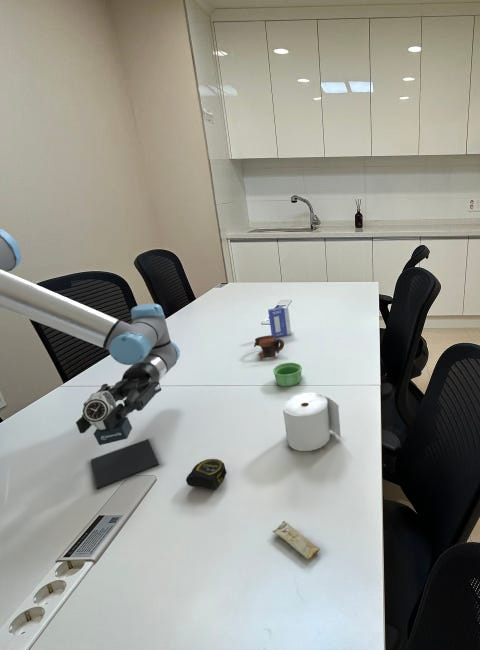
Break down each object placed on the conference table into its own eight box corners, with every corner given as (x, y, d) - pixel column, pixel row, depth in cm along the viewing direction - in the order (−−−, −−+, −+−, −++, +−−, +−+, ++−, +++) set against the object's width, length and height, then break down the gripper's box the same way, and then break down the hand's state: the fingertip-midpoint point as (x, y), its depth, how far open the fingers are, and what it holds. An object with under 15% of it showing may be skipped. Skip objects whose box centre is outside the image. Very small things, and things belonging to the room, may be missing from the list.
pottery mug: (251, 361, 140) (247, 339, 141) (264, 361, 149) (260, 340, 150) (281, 354, 138) (277, 331, 138) (292, 355, 147) (288, 333, 148)
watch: (96, 450, 82) (73, 407, 78) (108, 429, 89) (88, 388, 85) (124, 443, 84) (104, 400, 79) (134, 423, 91) (116, 383, 86)
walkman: (274, 338, 159) (270, 310, 154) (271, 336, 161) (267, 308, 156) (291, 333, 163) (288, 306, 158) (289, 331, 165) (285, 304, 160)
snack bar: (321, 547, 67) (308, 555, 64) (319, 555, 67) (307, 563, 64) (285, 519, 72) (272, 525, 70) (283, 527, 72) (271, 533, 70)
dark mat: (91, 460, 90) (91, 459, 90) (148, 440, 97) (147, 438, 97) (97, 489, 82) (96, 487, 82) (159, 464, 89) (158, 463, 88)
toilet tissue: (282, 433, 98) (277, 399, 94) (326, 420, 103) (323, 387, 99) (294, 457, 90) (289, 420, 86) (341, 441, 95) (339, 406, 91)
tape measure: (186, 489, 81) (182, 475, 80) (207, 468, 87) (204, 454, 86) (214, 495, 79) (210, 481, 78) (234, 473, 85) (231, 459, 84)
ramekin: (294, 389, 119) (292, 376, 118) (269, 385, 122) (267, 372, 120) (307, 376, 127) (306, 364, 125) (283, 372, 130) (282, 361, 128)
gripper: (182, 385, 103) (142, 438, 81) (113, 389, 101) (54, 444, 80) (176, 359, 99) (132, 408, 78) (105, 363, 98) (41, 414, 77)
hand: (93, 426), depth 79 cm, fingers closed on watch, 5 cm apart
